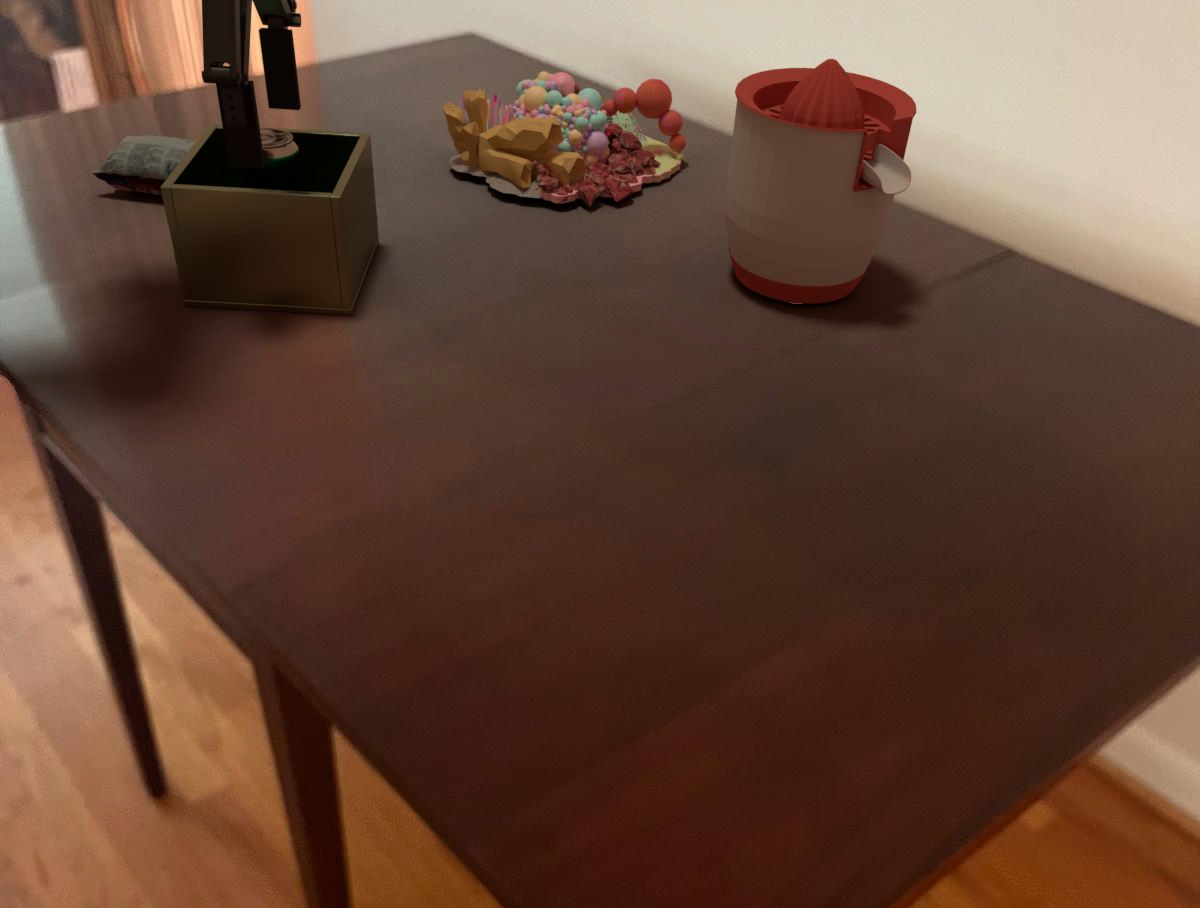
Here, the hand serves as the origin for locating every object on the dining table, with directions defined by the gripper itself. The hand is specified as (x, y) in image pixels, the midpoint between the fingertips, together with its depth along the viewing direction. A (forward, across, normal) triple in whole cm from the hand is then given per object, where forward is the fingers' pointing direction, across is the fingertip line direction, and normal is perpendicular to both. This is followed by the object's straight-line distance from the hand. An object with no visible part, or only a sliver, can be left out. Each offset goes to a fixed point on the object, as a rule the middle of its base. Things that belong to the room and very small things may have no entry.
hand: (267, 135), depth 99 cm
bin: (+12, 0, 0) cm, 12 cm away
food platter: (+13, +30, -24) cm, 40 cm away
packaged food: (+13, +18, +16) cm, 27 cm away
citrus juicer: (+12, +4, -48) cm, 50 cm away
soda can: (+12, 0, 0) cm, 12 cm away
